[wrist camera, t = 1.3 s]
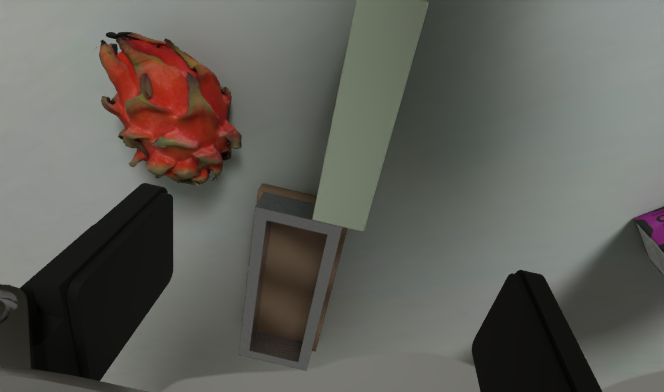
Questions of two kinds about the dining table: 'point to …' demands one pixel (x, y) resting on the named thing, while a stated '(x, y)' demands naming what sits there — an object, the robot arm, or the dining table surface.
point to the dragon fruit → (168, 108)
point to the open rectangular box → (288, 278)
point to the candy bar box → (653, 235)
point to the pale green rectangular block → (367, 107)
